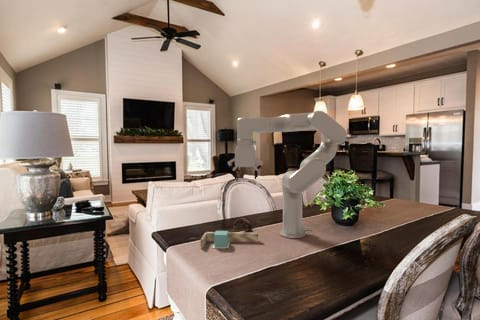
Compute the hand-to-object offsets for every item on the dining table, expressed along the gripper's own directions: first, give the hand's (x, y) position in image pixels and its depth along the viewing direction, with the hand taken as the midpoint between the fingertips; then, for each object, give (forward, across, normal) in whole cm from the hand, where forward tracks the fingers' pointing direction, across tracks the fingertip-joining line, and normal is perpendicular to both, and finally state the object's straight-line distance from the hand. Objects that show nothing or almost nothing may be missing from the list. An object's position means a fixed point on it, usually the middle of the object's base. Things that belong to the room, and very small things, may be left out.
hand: (245, 178), depth 133 cm
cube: (+28, +10, +13) cm, 33 cm away
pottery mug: (+29, +2, -6) cm, 29 cm away
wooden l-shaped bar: (+28, +7, +12) cm, 32 cm away
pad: (+28, +10, +13) cm, 33 cm away
